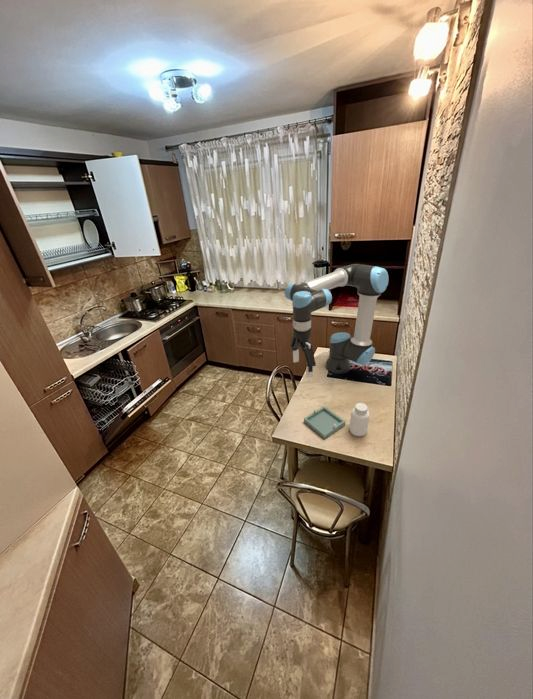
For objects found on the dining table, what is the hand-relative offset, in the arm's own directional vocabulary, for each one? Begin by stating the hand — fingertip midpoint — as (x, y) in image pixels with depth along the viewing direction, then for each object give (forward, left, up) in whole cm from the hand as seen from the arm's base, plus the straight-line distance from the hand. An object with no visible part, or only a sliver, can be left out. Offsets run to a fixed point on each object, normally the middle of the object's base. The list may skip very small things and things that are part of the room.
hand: (302, 368), depth 129 cm
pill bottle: (-12, +26, -28) cm, 39 cm away
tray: (-3, +13, -27) cm, 30 cm away
